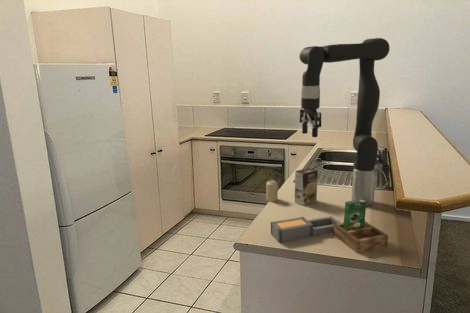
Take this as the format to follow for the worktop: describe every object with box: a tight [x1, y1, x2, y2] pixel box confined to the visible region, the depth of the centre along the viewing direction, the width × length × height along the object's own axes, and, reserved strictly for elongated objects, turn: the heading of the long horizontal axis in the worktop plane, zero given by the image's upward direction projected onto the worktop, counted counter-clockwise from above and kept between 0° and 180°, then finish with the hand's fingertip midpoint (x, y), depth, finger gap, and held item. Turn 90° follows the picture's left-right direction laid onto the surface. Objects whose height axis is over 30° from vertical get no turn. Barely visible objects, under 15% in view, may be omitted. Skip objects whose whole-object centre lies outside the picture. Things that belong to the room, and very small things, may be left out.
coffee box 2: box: [343, 199, 367, 231], centre depth 136 cm, size 8×3×13 cm, turn 109°
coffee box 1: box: [294, 167, 319, 207], centre depth 171 cm, size 9×6×16 cm
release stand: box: [270, 215, 342, 243], centre depth 141 cm, size 28×8×5 cm, turn 107°
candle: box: [265, 179, 279, 202], centre depth 176 cm, size 6×6×10 cm
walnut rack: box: [332, 220, 389, 254], centre depth 134 cm, size 13×15×4 cm
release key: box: [276, 219, 307, 229], centre depth 140 cm, size 11×5×4 cm, turn 107°
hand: (309, 135), depth 151 cm, fingers open, 8 cm apart
